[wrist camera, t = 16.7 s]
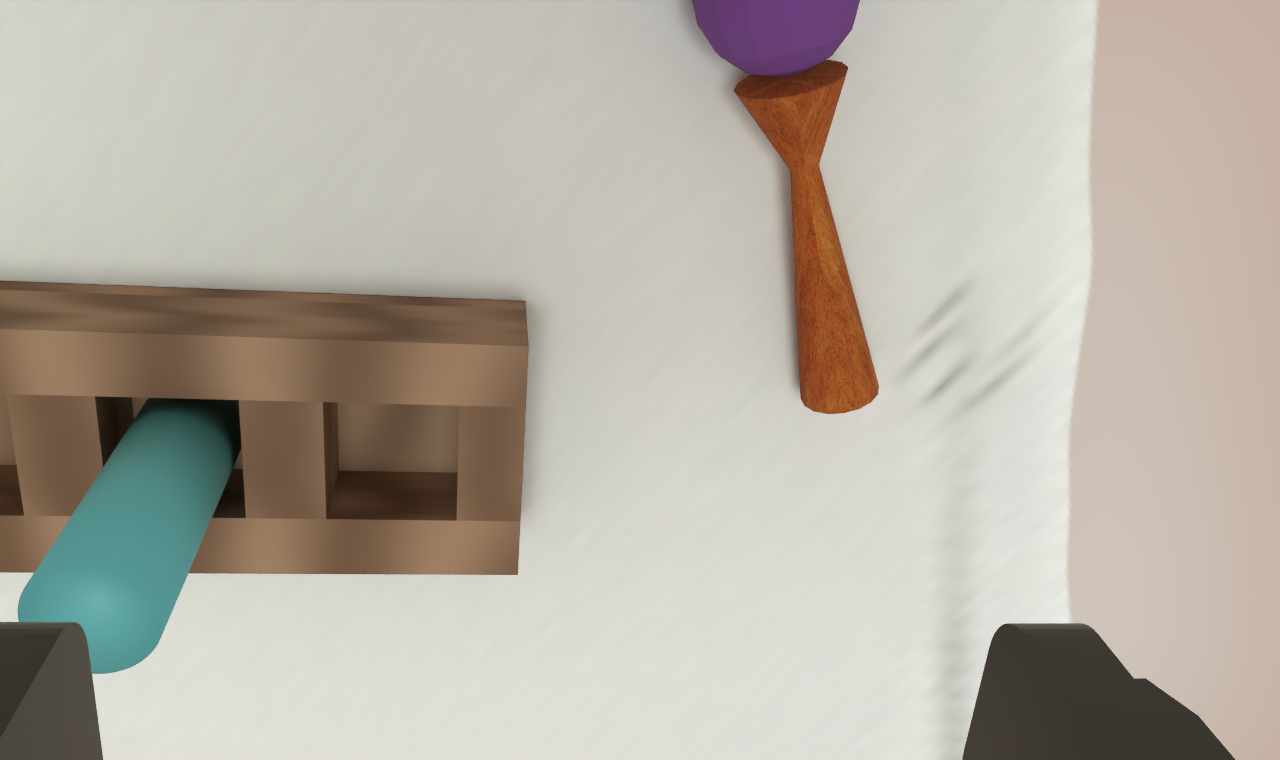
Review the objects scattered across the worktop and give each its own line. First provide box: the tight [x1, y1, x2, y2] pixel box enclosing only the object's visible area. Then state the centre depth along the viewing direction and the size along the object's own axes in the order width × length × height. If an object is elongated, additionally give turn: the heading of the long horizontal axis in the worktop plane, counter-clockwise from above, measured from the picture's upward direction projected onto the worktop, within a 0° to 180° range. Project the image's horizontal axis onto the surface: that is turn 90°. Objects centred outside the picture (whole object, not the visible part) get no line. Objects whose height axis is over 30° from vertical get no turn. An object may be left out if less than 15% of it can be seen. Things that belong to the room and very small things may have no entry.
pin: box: [18, 398, 242, 674], centre depth 39 cm, size 4×4×14 cm
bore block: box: [0, 281, 528, 575], centre depth 44 cm, size 26×10×5 cm, turn 85°
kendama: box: [693, 0, 879, 414], centre depth 44 cm, size 6×6×20 cm
